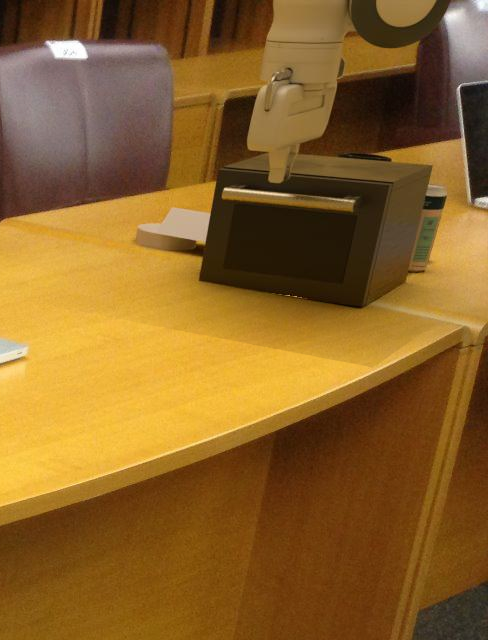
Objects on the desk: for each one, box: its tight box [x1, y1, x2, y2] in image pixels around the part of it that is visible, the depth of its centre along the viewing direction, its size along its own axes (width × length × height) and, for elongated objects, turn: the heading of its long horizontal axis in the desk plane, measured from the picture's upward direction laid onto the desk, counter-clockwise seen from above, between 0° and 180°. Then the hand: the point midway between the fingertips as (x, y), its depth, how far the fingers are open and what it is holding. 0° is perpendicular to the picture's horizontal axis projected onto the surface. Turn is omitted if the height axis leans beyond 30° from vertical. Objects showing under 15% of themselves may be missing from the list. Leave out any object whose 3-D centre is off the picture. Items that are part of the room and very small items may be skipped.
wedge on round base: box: [134, 206, 211, 251], centre depth 236 cm, size 9×7×13 cm
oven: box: [222, 152, 434, 307], centre depth 215 cm, size 20×22×16 cm
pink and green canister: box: [408, 183, 448, 273], centre depth 223 cm, size 5×5×12 cm
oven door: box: [198, 167, 393, 308], centre depth 206 cm, size 6×22×16 cm, turn 50°
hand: (278, 181), depth 196 cm, fingers closed
